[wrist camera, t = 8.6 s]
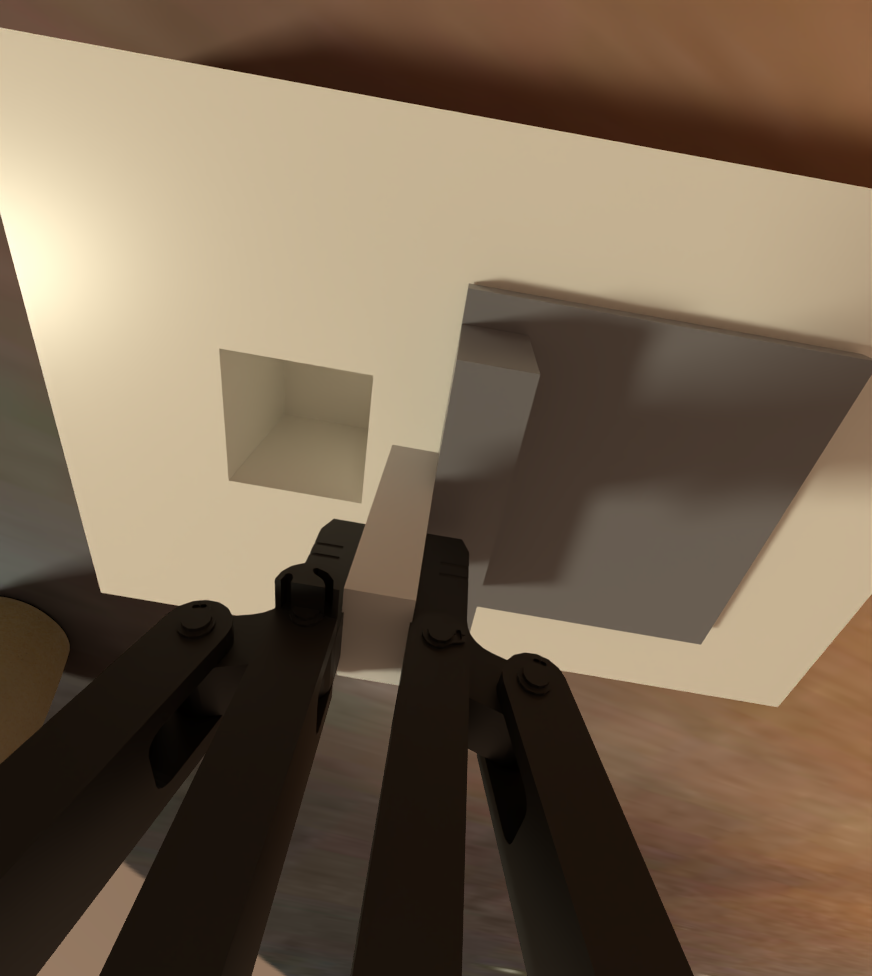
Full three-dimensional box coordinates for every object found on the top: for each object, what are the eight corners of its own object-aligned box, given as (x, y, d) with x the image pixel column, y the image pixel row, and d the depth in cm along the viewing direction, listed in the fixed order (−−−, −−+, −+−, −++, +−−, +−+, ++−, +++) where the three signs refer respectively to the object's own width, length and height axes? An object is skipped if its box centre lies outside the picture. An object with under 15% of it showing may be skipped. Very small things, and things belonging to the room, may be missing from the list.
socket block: (187, 499, 30) (101, 592, 23) (133, 74, 20) (-51, 18, 13) (711, 589, 31) (777, 706, 24) (932, 221, 20) (1162, 242, 13)
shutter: (415, 582, 21) (401, 665, 18) (468, 283, 15) (464, 316, 11) (694, 629, 21) (737, 722, 18) (862, 353, 15) (982, 409, 12)
